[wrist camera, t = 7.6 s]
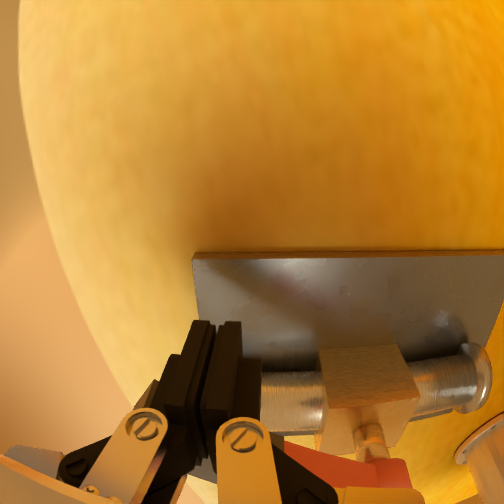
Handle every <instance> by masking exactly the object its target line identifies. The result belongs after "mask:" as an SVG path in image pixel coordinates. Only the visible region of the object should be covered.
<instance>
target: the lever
mask: <svg viewBox="0 0 504 504" xmlns="http://www.w3.org/2000/svg"><path fill="white" fill-rule="evenodd" d="M158 384H159V381H157V380H155V379H154V380H153V381H152V383H151V384H150V386H149V387H148V388H147V390H146V391H145V392H144V394H143V395H142V397H141V398H140V399H139V401H138V402H137V403H136V405H135V406H134V409H133V410H136V409H139V408H149V407H150V404H151V402H152V399H153V396H154V394H155V391H156V389H157V386H158ZM268 432H269V434H270V440H271V443H273V444H274V445H275V446H276V447H278V448H279V449H280V450H282V451H283V452H284V453H286V454H287V455H288V456H290V457H291V458H292V459H294V460H295V461H296V462H298V463H299V464H301V465H302V466H303V467H305V468H306V469H308V470H309V471H310V472H312V473H313V474H315V475H316V476H318V477H319V478H321V479H322V480H324V481H325V482H327V483H328V484H329V485H331V486H332V487H335V488H346V487H347V486H351V487H369V488H411V489H413V488H412V484H411V481H410V477H409V473H408V470H407V467H406V463H405V461H404V460H403V459H399V458H392V459H385V460H380V461H377V462H374V463H371V464H367V463H363V462H358V461H354V460H350V459H346V458H342V457H338V456H334V455H330V454H327V453H323V452H319V451H316V450H313V449H309V448H306V447H303V446H300V445H296V444H293V443H290V442H287V441H284V436H281V435H278V434H275V433H272V432H270V431H268ZM187 474H189V475H192V476H195V477H197V478H200V479H203V480H206V481H209V482H212V483H215V484H217V474H216V473H215V472H214V471H213V467H212V463H211V460H210V456H208V459H202V465H201V466H195V468H194V470H192V471H191V472H189V473H187Z"/></svg>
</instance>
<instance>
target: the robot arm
mask: <svg viewBox="0 0 504 504" xmlns="http://www.w3.org/2000/svg"><path fill="white" fill-rule="evenodd" d="M261 385H262V359H261V358H243V347H242V326H241V321H225V323H224V325H219V327H218V331H217V333H216V326H215V325H211V324H210V321H209V320H194V321H193V323H192V325H191V328H190V331H189V333H188V336H187V339H186V341H185V344H184V347H183V350H182V352H181V355H179V354H171V355H170V357H169V358H168V361H167V363H166V366H165V368H164V371H163V373H162V376H161V379H160V381H159V384H158V386H157V389H156V391H155V394H154V396H153V399H152V402H151V404H150V407H149V408H139V409H136V410H133V411H131V412H130V413H128V414H127V415H126V416H125V417H124V418H123V420H122V421H121V423H120V424H119V426H118V427H117V429H116V430H115V432H114V433H113V435H111V436H109V437H107V438H105V439H102V440H100V441H98V442H95V443H93V444H90V445H88V446H85V447H83V448H81V449H78V450H76V451H73V452H71V453H69V454H67V455H63V454H62V452H57V451H50V450H44V449H38V448H33V447H28V446H23V445H15V446H12V447H10V448H9V449H8V450H7V452H6V453H5V455H4V456H3V455H1V454H0V504H176V502H177V500H178V498H179V496H180V493H181V491H182V488H183V486H184V484H185V481H186V479H187V473H189V472H191V471H192V470H194V468H195V466H201V465H202V459H208V456H210V460H211V463H212V467H213V471H214V472H215V473H216V474H217V484H218V504H425V501H424V497H423V496H422V495H421V493H420V492H418V491H417V490H415V489H411V488H369V487H351V486H347V487H346V488H335V487H332V486H331V485H329V484H328V483H327V482H325V481H324V480H322V479H321V478H319V477H318V476H316V475H315V474H313V473H312V472H310V471H309V470H308V469H306V468H305V467H303V466H302V465H301V464H299V463H298V462H296V461H295V460H294V459H292V458H291V457H290V456H288V455H287V454H286V453H284V452H283V451H282V450H280V449H279V448H278V447H276V446H275V445H274V444H273V443H271V440H270V434H269V432H268V429H267V428H266V427H265V425H264V424H263V423H261V422H260V410H261ZM454 459H455V461H456V464H459V465H464V464H468V467H469V469H470V472H471V475H472V477H473V480H474V482H475V485H476V488H477V491H478V493H479V496H480V499H481V502H482V504H504V413H502V414H500V415H499V416H497V417H495V418H494V419H492V420H491V421H489V422H488V423H486V424H485V425H484V426H482V427H481V428H480V429H478V430H477V431H476V432H475V433H473V434H472V435H471V436H470V437H469V438H468V439H467V440H466V441H465V442H464V443H463V444H462V445H461V446H460V447H459V448H458V450H457V451H456V453H455V455H454Z"/></svg>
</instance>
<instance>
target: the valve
mask: <svg viewBox="0 0 504 504" xmlns="http://www.w3.org/2000/svg"><path fill="white" fill-rule="evenodd" d="M192 267H193V276H194V284H195V292H196V299H197V307H198V314H199V320H209V321H210V324H211V325H215V326H216V333H217V331H218V327H219V325H224V323H225V321H241V326H242V347H243V358H261V359H262V385H261V410H260V422H261V423H263V424H264V425H265V427H266V428H267V429H268V431H270V432H272V433H275V434H278V435H281V436H295V435H314V437H315V447H316V451H319V452H323V453H327V454H330V455H334V456H335V455H345V454H353V453H356V457H357V461H358V462H363V463H367V464H371V463H374V462H377V461H380V460H385V459H390V455H389V452H388V448H390V447H395V445H396V443H397V442H398V440H399V438H400V437H401V435H402V433H403V431H404V429H405V428H406V426H407V424H408V422H412V421H417V420H421V419H426V418H430V417H434V416H438V415H442V414H446V413H450V412H451V411H452V410H453V408H454V409H455V410H456V411H457V412H459V413H462V414H465V413H469V412H472V411H475V410H478V409H479V408H481V407H482V406H483V405H484V403H485V402H486V400H487V399H488V396H489V394H490V391H491V386H492V367H491V362H490V359H489V356H488V354H487V352H486V351H485V349H484V348H485V346H486V344H487V341H488V339H489V336H490V334H491V332H492V329H493V327H494V324H495V322H496V319H497V316H498V314H499V311H500V308H501V305H502V303H503V300H504V250H438V251H339V252H237V253H195V254H194V256H193V258H192Z"/></svg>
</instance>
